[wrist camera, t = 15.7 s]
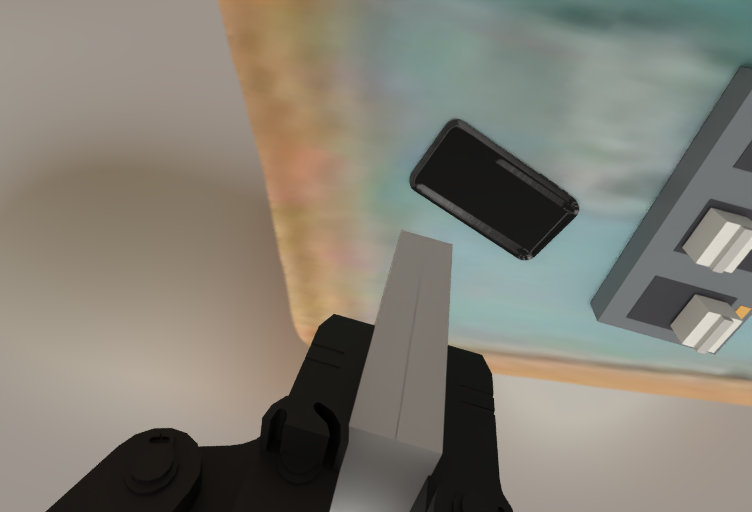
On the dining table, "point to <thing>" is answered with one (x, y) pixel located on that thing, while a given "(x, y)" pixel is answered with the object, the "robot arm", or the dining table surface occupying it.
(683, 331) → the switch tab
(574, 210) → the phone
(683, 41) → the dining table surface
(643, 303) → the switch board
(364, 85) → the dining table surface
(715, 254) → the switch tab
